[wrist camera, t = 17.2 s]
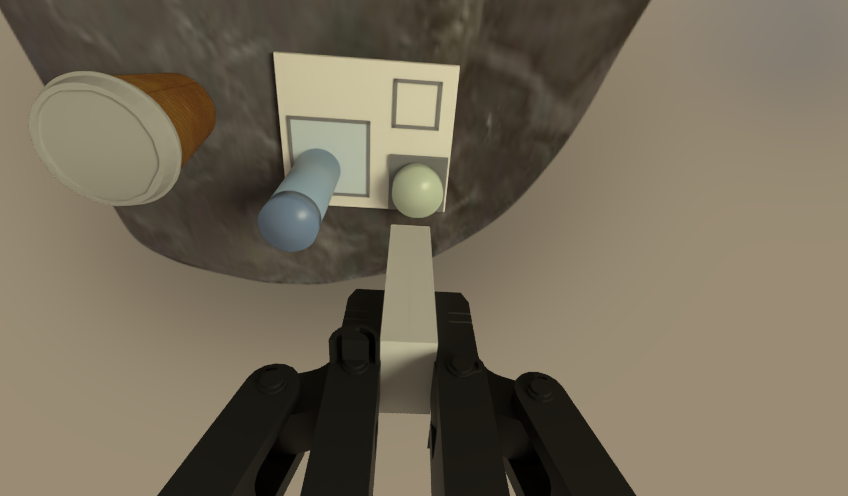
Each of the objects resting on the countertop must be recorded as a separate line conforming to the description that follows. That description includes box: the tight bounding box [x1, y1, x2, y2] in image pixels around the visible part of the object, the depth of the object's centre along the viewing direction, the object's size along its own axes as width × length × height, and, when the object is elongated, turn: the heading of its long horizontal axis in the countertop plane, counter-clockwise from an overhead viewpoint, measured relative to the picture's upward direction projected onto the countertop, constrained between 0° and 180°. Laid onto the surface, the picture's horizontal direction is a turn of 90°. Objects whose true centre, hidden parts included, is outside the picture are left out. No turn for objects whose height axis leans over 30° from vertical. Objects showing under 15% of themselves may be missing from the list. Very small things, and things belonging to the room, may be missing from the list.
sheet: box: [273, 52, 460, 212], centre depth 41 cm, size 14×16×1 cm
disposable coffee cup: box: [28, 71, 216, 206], centre depth 35 cm, size 10×10×12 cm
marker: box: [258, 148, 341, 252], centre depth 37 cm, size 4×4×12 cm
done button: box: [392, 163, 443, 218], centre depth 41 cm, size 5×5×2 cm
